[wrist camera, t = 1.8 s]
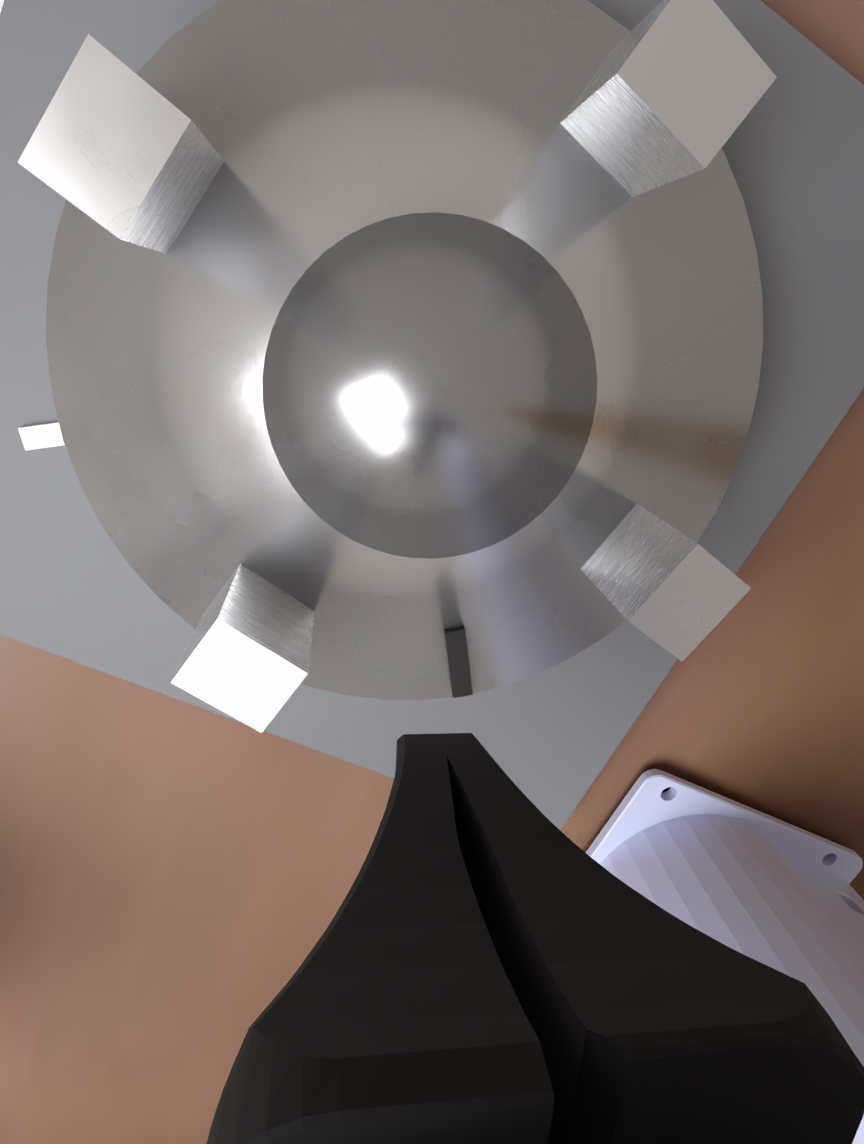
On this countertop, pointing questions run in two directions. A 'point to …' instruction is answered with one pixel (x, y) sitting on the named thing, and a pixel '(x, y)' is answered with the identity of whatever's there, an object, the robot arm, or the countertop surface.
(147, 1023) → the countertop surface
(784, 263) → the cap plate
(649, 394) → the domed lug disc
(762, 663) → the countertop surface
